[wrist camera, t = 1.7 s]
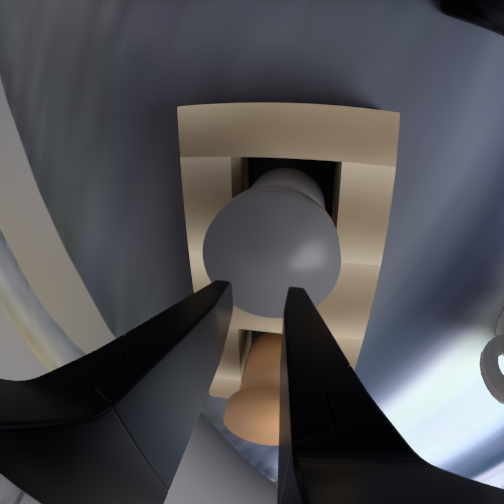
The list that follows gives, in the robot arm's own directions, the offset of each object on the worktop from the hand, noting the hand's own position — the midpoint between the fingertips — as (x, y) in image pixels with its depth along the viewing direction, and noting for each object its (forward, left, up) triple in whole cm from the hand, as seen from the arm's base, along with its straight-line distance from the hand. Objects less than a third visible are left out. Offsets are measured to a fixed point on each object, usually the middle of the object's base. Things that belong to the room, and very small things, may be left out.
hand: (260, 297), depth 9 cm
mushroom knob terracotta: (0, +10, -8) cm, 13 cm away
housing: (0, +5, -11) cm, 12 cm away
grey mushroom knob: (0, 0, -8) cm, 8 cm away
